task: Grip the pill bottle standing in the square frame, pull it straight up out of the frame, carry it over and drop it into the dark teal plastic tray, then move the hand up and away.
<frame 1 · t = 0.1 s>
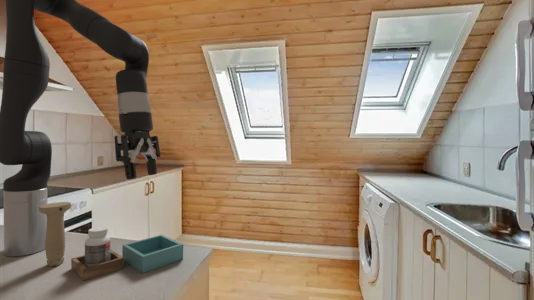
hand: (142, 176, 70), 22 cm above the counter, tool pointing down, fingers open, 8 cm apart
tray: (153, 259, 74), on the counter
square frame: (97, 268, 68), on the counter
handle: (55, 264, 70), on the counter
pill bottle: (97, 269, 68), resting in square frame
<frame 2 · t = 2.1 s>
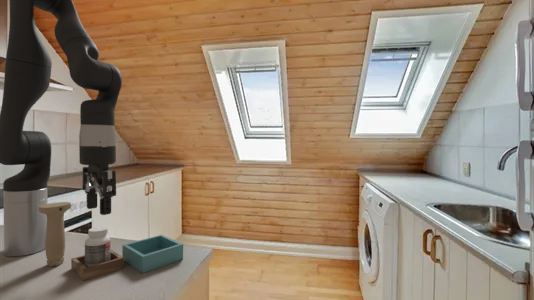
hand: (98, 211, 68), 14 cm above the counter, tool pointing down, fingers open, 8 cm apart
nothing on the counter moved.
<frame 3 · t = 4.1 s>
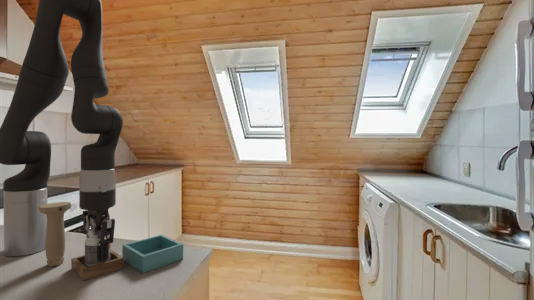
hand: (97, 256, 68), 3 cm above the counter, tool pointing down, fingers closed on pill bottle, 5 cm apart
pill bottle: (97, 269, 68), resting in square frame, touching gripper
everything else where it was.
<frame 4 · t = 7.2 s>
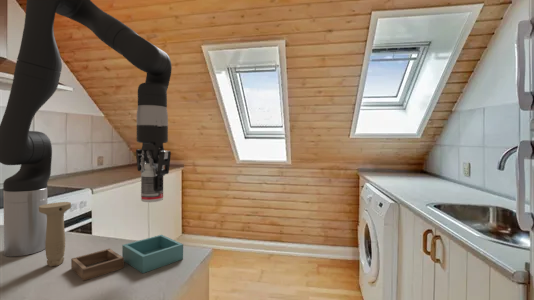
hand: (152, 189, 73), 19 cm above the counter, tool pointing down, fingers closed on pill bottle, 5 cm apart
pill bottle: (152, 201, 73), point 16 cm above the counter, touching gripper
everything else where it was.
when the fingers open (6 cm above the counter, at t = 10.5 s): pill bottle drops 2 cm, resting on tray.
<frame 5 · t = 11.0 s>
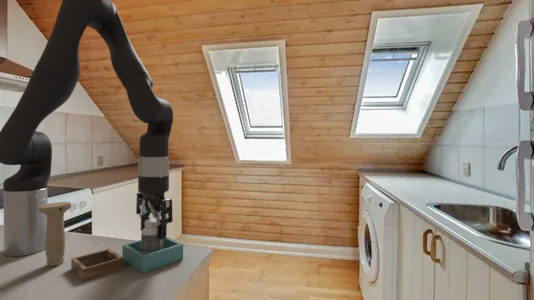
hand: (153, 234, 74), 7 cm above the counter, tool pointing down, fingers open, 8 cm apart
pill bottle: (151, 257, 74), resting on tray
everything else where it was.
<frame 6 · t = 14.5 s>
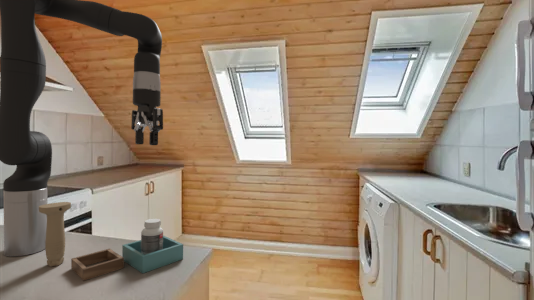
hand: (146, 144, 82), 30 cm above the counter, tool pointing down, fingers open, 8 cm apart
nothing on the counter moved.
at the end: pill bottle inside the target area on the tray (0.4 cm from its centre), point 0.4 cm above the tray's base; the gripper is holding nothing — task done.
